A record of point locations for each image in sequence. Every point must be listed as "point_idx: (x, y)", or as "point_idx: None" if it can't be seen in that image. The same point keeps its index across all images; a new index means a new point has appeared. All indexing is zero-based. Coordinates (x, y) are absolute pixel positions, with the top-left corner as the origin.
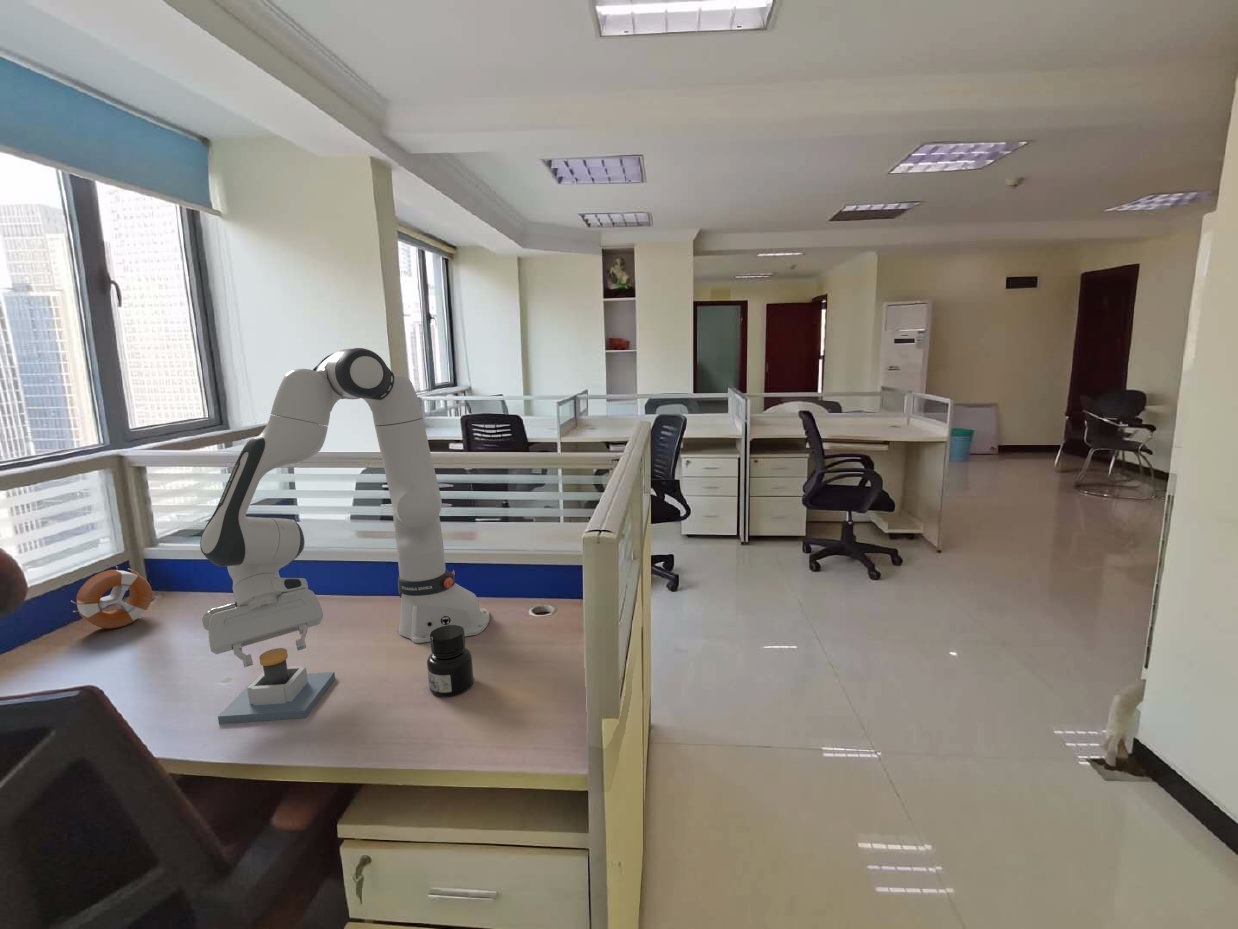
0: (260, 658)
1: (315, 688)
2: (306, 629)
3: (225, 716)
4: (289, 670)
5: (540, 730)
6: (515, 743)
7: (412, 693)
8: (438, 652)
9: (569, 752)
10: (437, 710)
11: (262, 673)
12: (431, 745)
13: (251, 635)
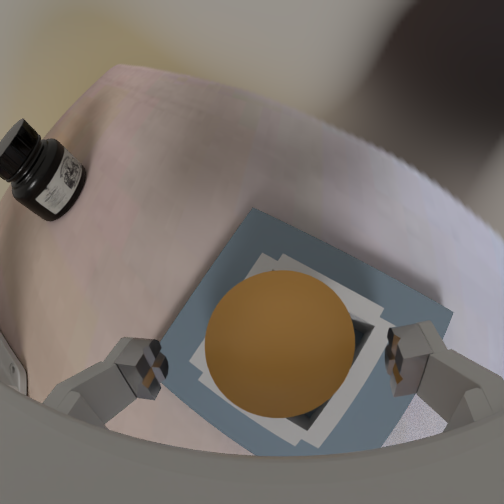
0: (349, 328)
1: (204, 305)
2: (62, 382)
3: (437, 303)
4: None
5: (91, 97)
6: (112, 86)
7: (95, 199)
8: (36, 134)
9: (104, 76)
10: (106, 145)
11: (335, 418)
12: (151, 93)
13: (413, 455)
